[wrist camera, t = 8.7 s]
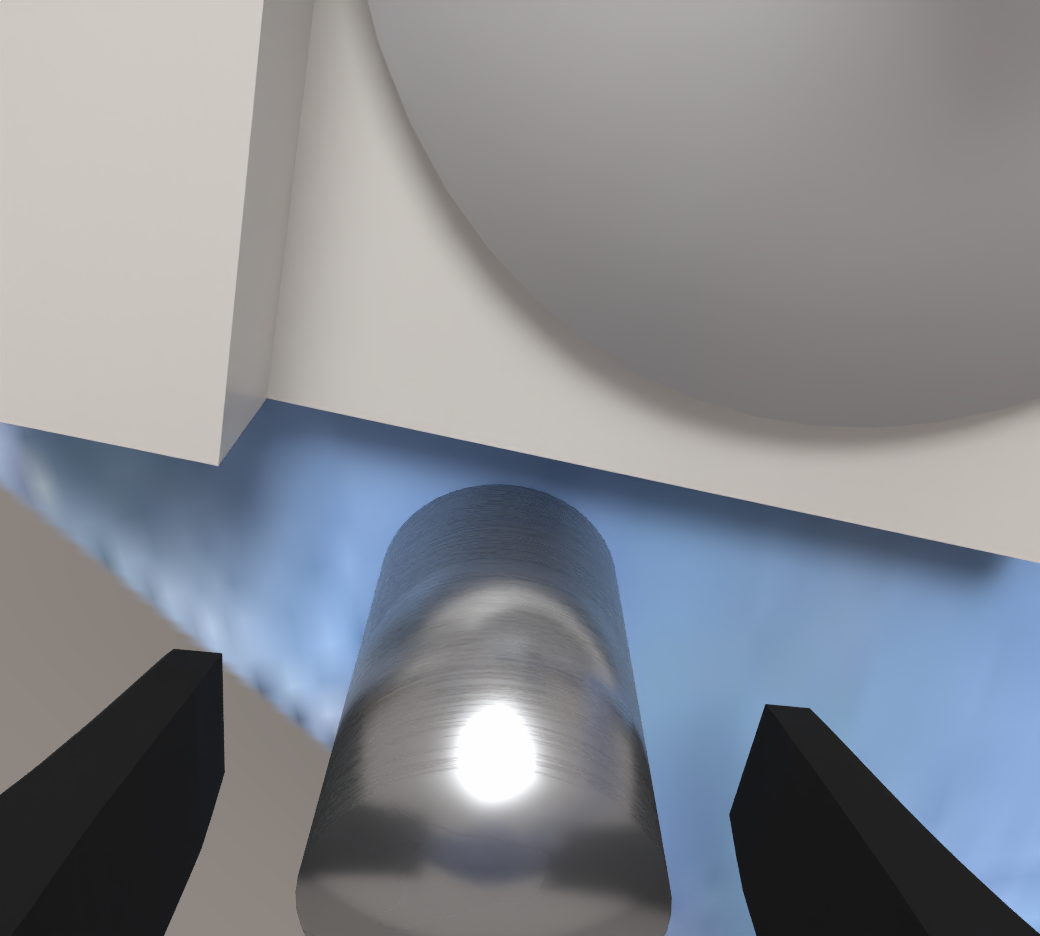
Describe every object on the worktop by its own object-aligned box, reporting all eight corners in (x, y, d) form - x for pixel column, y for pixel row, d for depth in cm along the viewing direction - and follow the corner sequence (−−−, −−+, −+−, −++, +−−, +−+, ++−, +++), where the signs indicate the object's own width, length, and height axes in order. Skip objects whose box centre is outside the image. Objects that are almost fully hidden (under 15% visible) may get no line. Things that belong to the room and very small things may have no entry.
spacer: (650, 519, 14) (730, 821, 8) (575, 700, 16) (602, 1047, 10) (409, 457, 13) (332, 737, 8) (360, 652, 15) (269, 990, 10)
